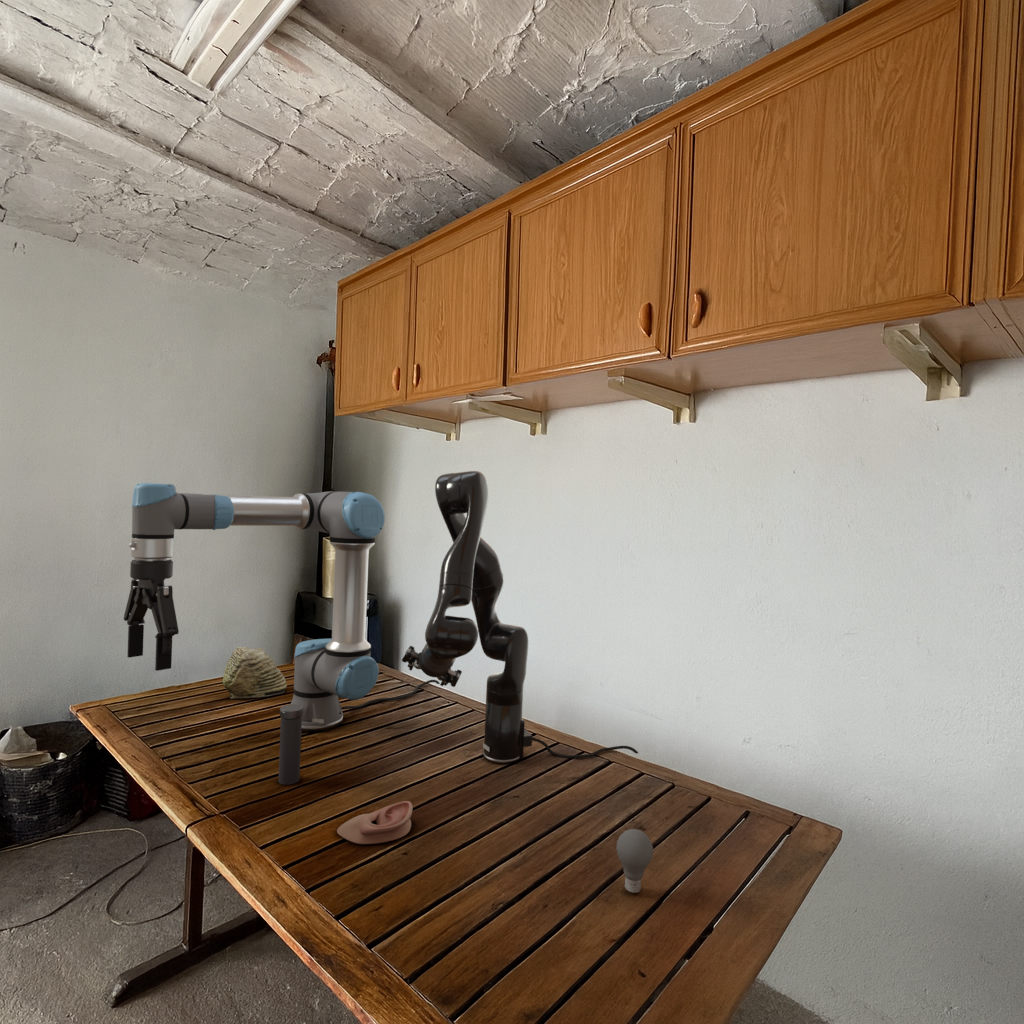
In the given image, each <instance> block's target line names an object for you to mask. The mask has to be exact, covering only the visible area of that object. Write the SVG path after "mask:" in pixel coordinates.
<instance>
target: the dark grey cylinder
mask: <svg viewBox="0 0 1024 1024" xmlns="http://www.w3.org/2000/svg"><path fill="white" fill-rule="evenodd" d="M301 728H302V716H301V717H299V718H294V719H285V718H281V717H280V728H279V731H280V732H279V753H278V779H277V781H278V783H279V784H280V785H284V786H289V785H294V784H297V783H298V782H299V781H300V780H301V779H300V778H301V753H302V751H301V750H302V732H301Z"/></svg>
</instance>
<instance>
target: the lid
mask: <svg viewBox="0 0 1024 1024" xmlns="http://www.w3.org/2000/svg"><path fill="white" fill-rule="evenodd" d="M290 704H291V703H290ZM290 704H285V705H282V706H280V708H279V717H280V719H281V718H285V719H294V718H299V717H301V716H302V715H303V706H301V705H297V704H291V705H290Z"/></svg>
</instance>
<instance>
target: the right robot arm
mask: <svg viewBox="0 0 1024 1024" xmlns="http://www.w3.org/2000/svg"><path fill="white" fill-rule="evenodd" d="M434 485H435V486H434V492H435V493H434V494H435V498H436V502H437V506H438V509H439V511H440V514H441V516H442V519H443V520H444V523H445V525H446V528H447V531H448V533H449V535H450V538H451V540H452V544H451V546H450V547H449V549H448V551H447V552H446V554H445V555H444V558H443V560H442V563H441V568H440V572H439V583H438V592H437V597H436V601H435V605H434V608H433V610H432V613H431V615H430V618H429V620H428V623H427V624H426V628H425V632H424V640H425V644H424V646H423V648H422V650H421V652H417V651H416V649H415V646H413V645H409V647H408V648H407V650H406V651H405V653H404V655H403V657H402V659H401V662H402V663H405V664H406V663H408V664H407V668H409V669H408V670H409V671H413V669H414V668H415V669H416V670H421V671H422V673H424V674H425V675H426V676H428V677H431V678H436V679H437V681H439V682H440V684H439V686H441V687H443V686H445V687H446V686H447V685H448V684H450V686H451V687H453V688H456V686H457V684H458V682H459V680H460V677H461V675H462V674H463V671H462V670H461V669H457V670H456V669H455V670H452V668H453V666H454V663H455V661H456V659H457V658H460V657H463V656H466V655H467V654H469V653H470V652H471V651H472V650H473V649H474V648H475V646H476V644H477V642H478V638H479V642H480V646H481V650H482V651H483V654H484V655H485V656H486V657H487V658H488V659H491V660H495V661H498V662H503V663H504V666H503V667H504V668H503V670H502V671H497V672H494V673H491V674H489V675H488V676H487V678H486V692H485V713H484V735H483V737H484V739H483V743H482V748H483V751H482V757H483V759H485V760H486V761H488V762H491V763H496V764H512V763H515V762H517V761H520V760H523V759H524V752H525V751H524V750H525V749H524V748H527V747H533V741H534V742H536V743H538V744H541V745H542V746H543V747H545V749H546V750H547V752H548V753H549V754H550V755H552V756H555V757H560V758H565V759H585V758H591V757H593V756H596V755H598V754H600V753H603V752H607V751H615V750H623V749H625V750H630V751H631V752H632V753H634V754H639V751H638V750H636V749H635V748H634V747H632V746H628V745H616V746H611V747H603V748H600V749H597V750H595V751H594V752H591V753H587V754H574V755H573V754H572V755H571V754H569V755H568V754H562V753H558V752H556V751H553V750H552V749H551V748H550V746H549V745H548V743H546V742H545V741H543V740H541V739H539V738H537V737H533V735H532V734H531V733H530V732H529V731H528V730H527V729H526V727H525V725H526V722H525V720H524V718H523V702H524V683H525V679H526V676H527V666H528V657H529V641H530V640H529V633H528V632H527V630H526V628H524V627H523V626H520V625H516V624H509V623H504V622H501V620H500V618H499V615H498V612H497V604H498V600H499V598H500V596H501V593H502V592H503V589H504V584H505V576H504V572H503V569H502V564H501V561H500V558H499V556H498V553H497V552H496V550H495V549H494V548H493V547H492V546H491V545H490V544H489V542H487V541H486V540H485V539H484V538H483V537H482V532H483V528H484V524H485V519H486V514H487V509H488V505H489V497H490V492H489V489H490V488H489V483H488V480H487V477H486V476H485V474H484V473H482V472H481V471H479V470H470V471H461V472H460V471H459V472H451V473H450V472H449V473H444V474H441V475H439V476H438V477H437V479H436V480H435V484H434ZM465 514H466V515H465ZM470 603H471V605H472V609H473V612H474V613H473V614H474V617H475V621H474V620H473V619H471V618H470V617H464V616H455V615H447V613H446V612H447V611H448V610H449V609H453V608H460V607H466V606H469V604H470Z"/></svg>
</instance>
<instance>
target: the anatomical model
mask: <svg viewBox="0 0 1024 1024" xmlns="http://www.w3.org/2000/svg"><path fill="white" fill-rule="evenodd" d="M413 811H414V810H413V804H412V802H411V801H409V800H404V801H399V802H396V803H392V804H389V805H387V806H384V807H382V808H380V809H377V810H375V811H373V812H370V813H362V814H358V815H357V816H354V817H352V818H350V819H348V820H347V821H345V822H344V823H342V824H341V825H339V827H338V828H337V829H336V833H337V835H339V837H342V838H343V839H345V840H346V841H349V842H351V843H353V844H357V845H373V844H382V843H388V842H391V841H394V840H398V839H400V838H403V837H404V836H406V835H407V834H408V833H409V832H410V831H411V828H412V820H411V817H412V814H413Z"/></svg>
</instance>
